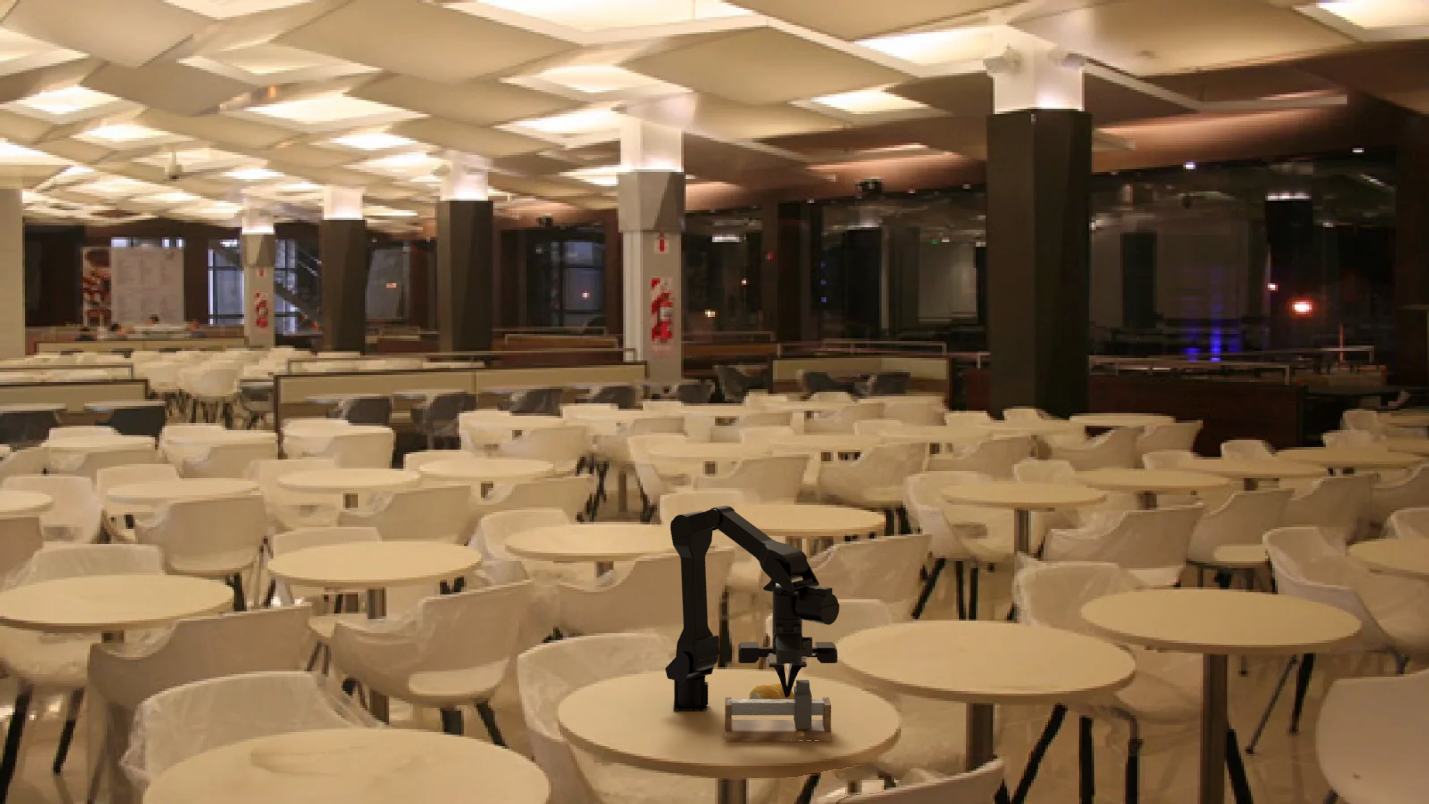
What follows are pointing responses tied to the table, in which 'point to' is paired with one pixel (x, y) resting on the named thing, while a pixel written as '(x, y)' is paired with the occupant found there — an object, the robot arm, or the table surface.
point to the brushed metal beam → (771, 706)
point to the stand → (776, 728)
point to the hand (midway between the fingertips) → (787, 696)
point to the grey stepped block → (803, 705)
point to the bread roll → (769, 692)
